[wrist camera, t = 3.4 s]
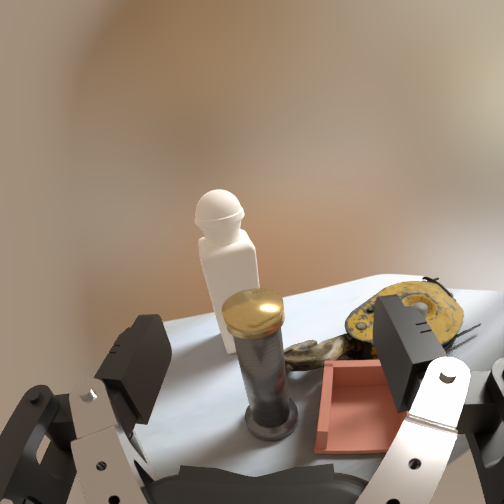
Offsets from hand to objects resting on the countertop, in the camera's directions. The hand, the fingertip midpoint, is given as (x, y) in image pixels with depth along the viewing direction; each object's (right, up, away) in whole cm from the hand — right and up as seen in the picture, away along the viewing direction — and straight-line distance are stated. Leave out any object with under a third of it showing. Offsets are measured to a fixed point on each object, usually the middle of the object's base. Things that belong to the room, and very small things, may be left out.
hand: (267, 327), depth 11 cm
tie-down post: (+2, -16, +19) cm, 25 cm away
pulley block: (+17, -10, +28) cm, 34 cm away
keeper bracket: (+12, -15, +18) cm, 26 cm away
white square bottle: (-2, -10, +34) cm, 35 cm away
